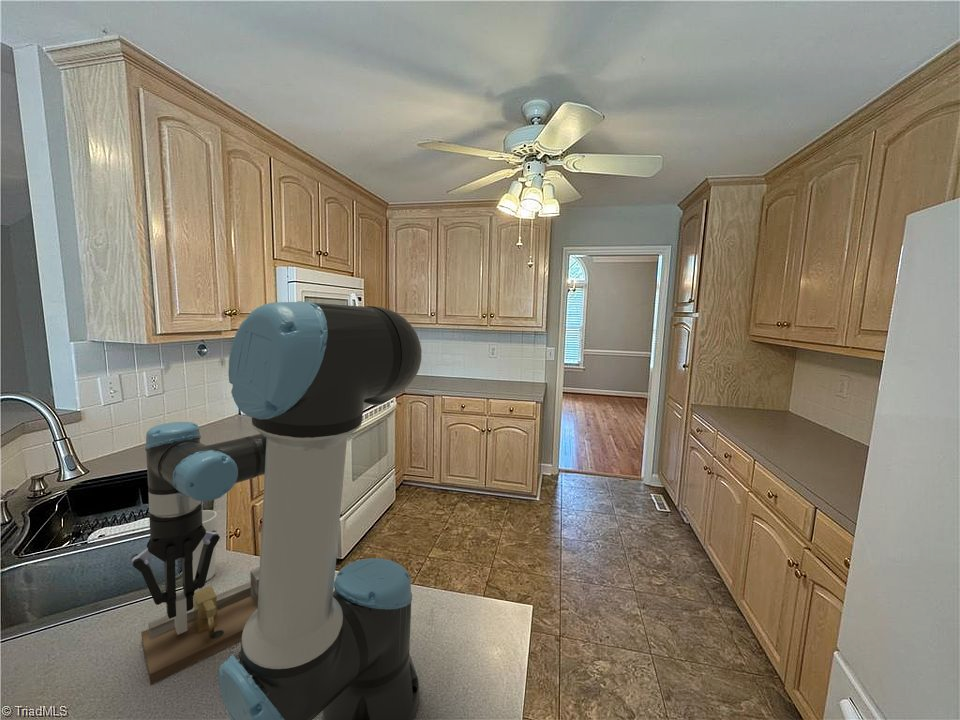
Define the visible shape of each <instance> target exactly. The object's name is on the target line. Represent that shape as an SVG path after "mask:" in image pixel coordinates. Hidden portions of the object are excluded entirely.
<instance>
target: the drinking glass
mask: <svg viewBox="0 0 960 720" xmlns="http://www.w3.org/2000/svg"><path fill="white" fill-rule="evenodd" d="M217 514H218V513H217V511H215V510H212V509H205V510H204V509H202V525H203V526H204V528H205V530H206V531H210V532H211V531H213V530H215V531H216V532H217V533H218V515H217ZM203 544H204V542H203V539H202V540H201V542H200V543H199V545H198V546H197V548H196V549H195V550H194V552H193V560H192V564H193V580H194V579H195V575H196V571H197V567H198V563H199V559H200V555H201V551H202V547H203ZM216 554H217V544H216V545H215V547H214V549H213V553H212V557H211V561H210V565H209V570H208V574H207V578H206V582H207V581H209V580H210V579H211V578H213V577H214V576H215V573H216V556H217V555H216Z"/></svg>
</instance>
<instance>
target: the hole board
mask: <svg viewBox="0 0 960 720" xmlns="http://www.w3.org/2000/svg"><path fill="white" fill-rule="evenodd" d="M259 571H260V566H259V567H256V568H254V569H251V570H250V571H249V572H250V574H249V575H250V581H248V582H246V583H244V584H241V585H237V586H236V587H233V588H231V589H229V590H228V589H227V590H226V591H223V592H221V593H218V594H216V596H217V625H216V626H214V636H212V637H208V629H207V630H205V631H203V632H200V633H198V630H197V628H196V625H195V622H194V604H193V609H192V610H189V611H187V631H185V632H183V633H181V634H179V635H177V632H176V629H175V621H174V617H173V618H170V619H169V617H168V615H164V616H161V617H158V618H156V619H154V620H152V621H149V622H148V628H147V629H146V630H143V631H141V632H140V633H141V645H142V650H143V654H144V659H145V664H146V668H147V674H148V678H149V685H150V686H151V685H154V684H155V683H158V682H160V681H162V680H164V679H166V678H168V677H170V676H172V675H174V674H177V673H178V672H180V671H182V670H184V669H186V668H188V667H191V666H192V665H195V664H197V663H199V662H201V661H202V660H205V659H206V658H208V657H210V656H212V655H213V656H214V655H215V654H217V653H219V652H221V651H223V650H225V649H227V648H228V647H231V646H233V645H235V644H237V643H239V642H242V633H243V629H244V627H245V624H246V622H247V621H248V619H249V618H250V616H251V615H252V614H253V613H254V612H255V611H256V610H257V609H258V590H259Z"/></svg>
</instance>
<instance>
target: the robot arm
mask: <svg viewBox="0 0 960 720" xmlns="http://www.w3.org/2000/svg"><path fill="white" fill-rule="evenodd" d="M231 343H232V344H231V347H230V353H229V358H228V371H227V372H228V381H229V382H228V383H230V384H231V385H232V388H231V392H230V393H231V396H232V398H233V401H234V403H235V405H236V407H237V408H238V409H239V411H241V412H242V413H243V414H244V415H245V416H247V417H249V418H251V426H252V427H253V429H255V430H256V431H257V432H258V434H254V435H249V436H244V437H240V438H235V439H231V440H226V441H220V442H216V443H213V444H212V443H211V444H208V445H207V444H203V443H202V442H201V438H202V436H201V434H200V428H199V427H200V426H199V425H198V424H197V423H195V422H190V421H174V422H168V423H161V424H158V425H155V426H152V427H151V428H149V429H148V431H146V437H145V447H144V451H145V453H146V454H145V455H146V471H147V486H148V487H147V490H148V512H149V514H150V515H149V519H148V520H149V540H148V542H147V544H146V548H145V549H144V550H142V551H141V552H140V553H139V554H138V553H135V554H133V555H132V556H131V558H130V559H131V563H132V564H131V565H132V567H133V568H134V569H136V570H138V571H139V572H140V573H141V575H142V577H143V580H144V582H145V585H146V586H147V588H148V591H149V593H150V595H151V597H152V600H153V602H154V604H155V605H157V606H158V605H161V604H163V603H166V605H165V606H166V614H167V615H168V617H169V619H170V618H173V617H174V621H175V629H176V632H177V635H179V634H181V633H183V632H185V631H187V611H189V610H192V609H193V596H194V592H196V591H198V590H199V589H203V588H204V586H206V585H205V584H206V582H207V581H206V578H207V574H208V570H209V565H210V561H211V557H212V553H213V549H214V547H215V545H216V546H217V544H218V542H219V541H220V538H221V537H220V535H219V533H218V531H217V532H216V531H215V530H213V531H211V532H210V531H206V530H205V528H204V526H203V525H202V511H203V506H202V504H201V503H202V502H211V501H215V500H217V499H220V498H222V497H223V496H224V495H225V494H227V493H228V492H229V491H231V489H233V488H234V486H235V484H238V483H242V482H246V481H249V480H251V479H255V478H257V477H260V476H264V479H263V498H262V499H263V501H262V516H261V519H262V520H261V532H260V533H261V538H260V555H259V556H260V557H259V567H260V571H259V590H258V609H257V610H256V611H255V612H254V613H253V614H252V615H251V616H250V618H249V619H248V621H247V622H246V624H245V627H244V629H243V633H242V640H241V648H240V651H239V652H237V653H236V654H231V655H230V656H229V657H228V658H227V660H225V661H224V662H223V663H222V664H221V665H220V667H219V669H218V673H217V674H218V675H217V680H218V686H219V687H218V689H219V691H220V696H221V698H222V702H223V705H224V707H225V709H226V712H227V715H228V717H229V718H230V720H314V719H315V718H316V717H317V716H319V715H320V714H321V713H322V720H414V718H415V716H416V714H417V711H418V707H419V702H420V701H419V700H420V698H419V697H420V685H419V684H420V682H419V677H418V674H417V672H416V668H415V665H414V663H413V659H412V656H411V654H410V649H411V648H410V647H411V646H410V645H411V622H412V621H411V620H412V619H411V618H412V600H413V594H412V585H411V584H412V580H411V577H410V574H409V572H408V571H407V569H406V568H405V567H403V565H401V564H400V563H398V562H395V561H393V560H389V559H386V558H381V557H379V558H376V557H375V558H373V557H371V558H369V557H368V558H363V559H358V560H357V559H356V560H353V561H352V562H350V563H348V564H346V565H344V566H343V567H342V568H341V569H340V570H339V571H338V572H337V574H336V568H337V567H336V565H337V554H338V553H337V552H338V543H339V534H340V523H341V522H340V520H341V509H342V498H343V488H344V477H345V467H346V466H345V465H346V464H345V463H346V454H347V442H348V438H349V437H350V436H351V435H352V434H353V433H355V432H356V431H358V429H360V428H361V426H362V424H363V415H364V414H363V413H364V411H365V410H366V409H367V408H369V407H370V406H379V405H383V404H385V403H387V402H388V401H390V400H391V399H392V398H394V397H396V395H398V394H400V393H401V392H402V391H403V390H405V389H406V388H407V387H408V386H409V385H410V384H411V383H412V382H413V381H414V379H415V378H416V376H417V374H418V373H419V370H420V367H421V363H422V345H421V341H420V339H419V336H418V333H417V332H416V330H415V329H414V327H413V325H412V324H411V323H410V322H409V321H408V320H407V319H406V318H405V317H404V316H403V315H400V314H399V313H397V312H396V311H394V310H390V309H388V308H384V307H381V306H372V305H368V306H367V305H366V306H361V305H359V306H358V305H347V304H346V305H345V304H336V303H335V304H333V303H321V302H311V301H308V300H307V301H302V300H298V301H288V302H287V301H284V302H283V301H279V302H278V301H277V302H276V301H275V302H268V303H265V304H262V305H260V306H257V307H256V308H255V309H253V310H252V311H251V312H250V313H249V314H248V315H247V317H246V318H245V319H243V321H242V322H241V323H240V325H239V326H238V329H237V331H236V333H235V336H234V338H233V340H232V342H231ZM202 539H203V542H204V544H203V547H202V551H201V555H200V559H199V563H198V567H197V571H196V575H195V579H194V580H193V564H192V560H193V552H194V550H195V549H196V548H197V546H198V545H199V543H200V542H201V540H202ZM151 555H153V556H155V558H157V559H159V560H161V561H162V562H163V563H164V565H163V567H164V587H165V589H164V590H165V591H161V589H160V586H159V583H158V581H157V579H156V577H155V575H154V572H153V570H152V567H151V565H150V563H151V561H152V559H151ZM179 559H181V573H182V574H181V575H182V590H181V591H178V592H177V585H176V561H177V560H179Z"/></svg>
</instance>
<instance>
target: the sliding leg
mask: <svg viewBox="0 0 960 720" xmlns="http://www.w3.org/2000/svg"><path fill="white" fill-rule="evenodd" d="M216 595H217V594H216V593H215V590H214V588H213V586H212V585H209V586H207V587H205V588H204V587H203V588H201V589H198V590H195V591H194V596H193V604H194V622H195V625H196V628H197V630H198V633H200V632H203V631H205V630H207V629H208V637H212V636H214V626H216V625H217V596H216Z"/></svg>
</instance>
